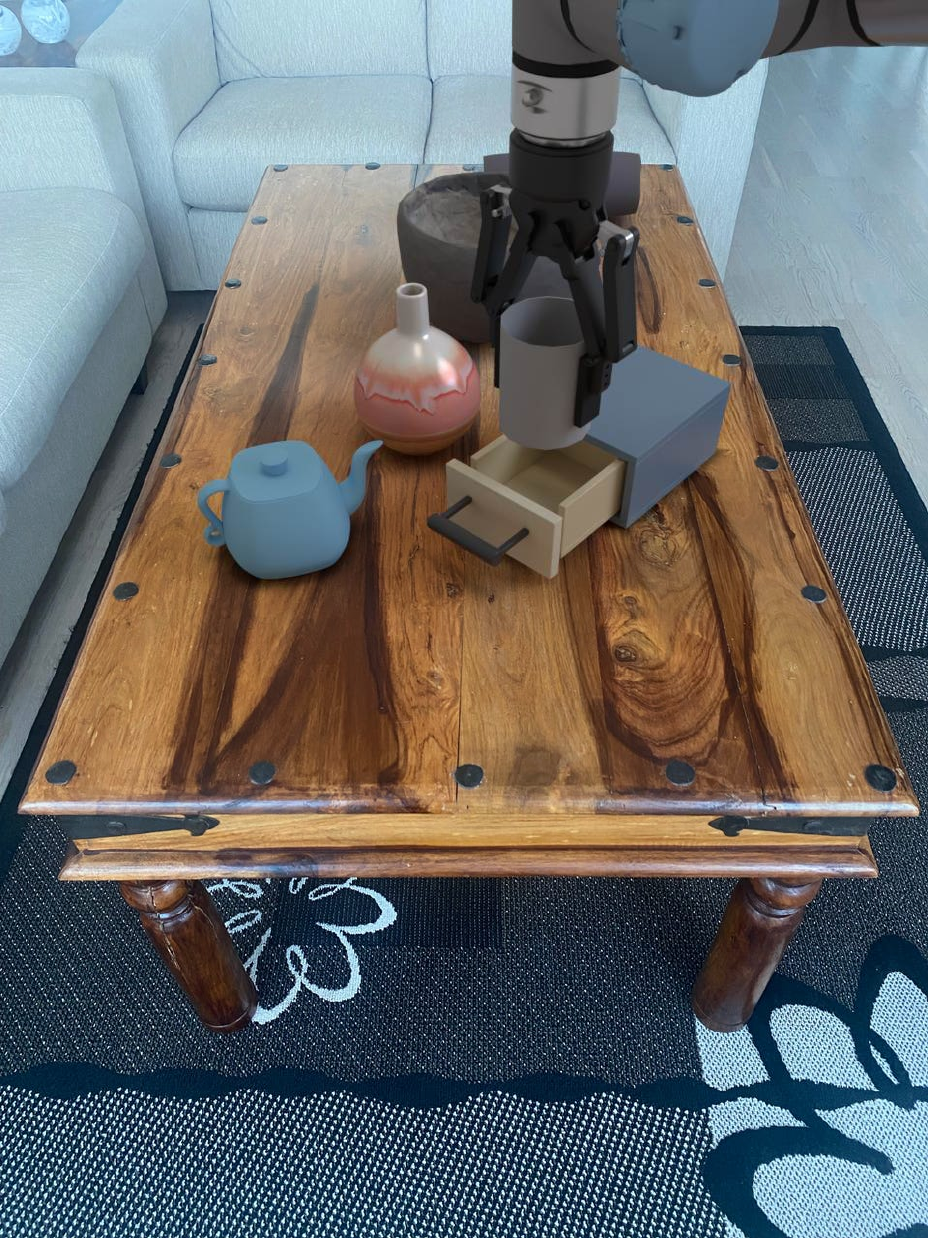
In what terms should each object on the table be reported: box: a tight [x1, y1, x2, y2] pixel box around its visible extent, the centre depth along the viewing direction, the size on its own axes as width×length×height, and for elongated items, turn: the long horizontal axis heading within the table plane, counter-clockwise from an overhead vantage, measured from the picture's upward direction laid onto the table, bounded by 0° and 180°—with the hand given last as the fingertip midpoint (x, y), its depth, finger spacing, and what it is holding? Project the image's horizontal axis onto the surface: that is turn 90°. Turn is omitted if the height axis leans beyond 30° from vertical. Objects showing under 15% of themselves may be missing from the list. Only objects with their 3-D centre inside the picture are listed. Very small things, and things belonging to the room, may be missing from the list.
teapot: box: [196, 439, 383, 580], centre depth 87 cm, size 13×11×18 cm
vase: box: [352, 282, 482, 457], centre depth 96 cm, size 14×14×18 cm
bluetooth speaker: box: [482, 150, 642, 218], centre depth 137 cm, size 23×9×10 cm, turn 90°
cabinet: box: [582, 343, 732, 530], centre depth 96 cm, size 17×14×9 cm
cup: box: [498, 296, 591, 450], centre depth 80 cm, size 8×8×10 cm
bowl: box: [396, 171, 583, 344], centre depth 115 cm, size 24×24×15 cm
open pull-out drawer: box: [426, 433, 628, 580], centre depth 89 cm, size 21×13×7 cm, turn 138°
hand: (545, 400), depth 82 cm, fingers closed on cup, 8 cm apart
